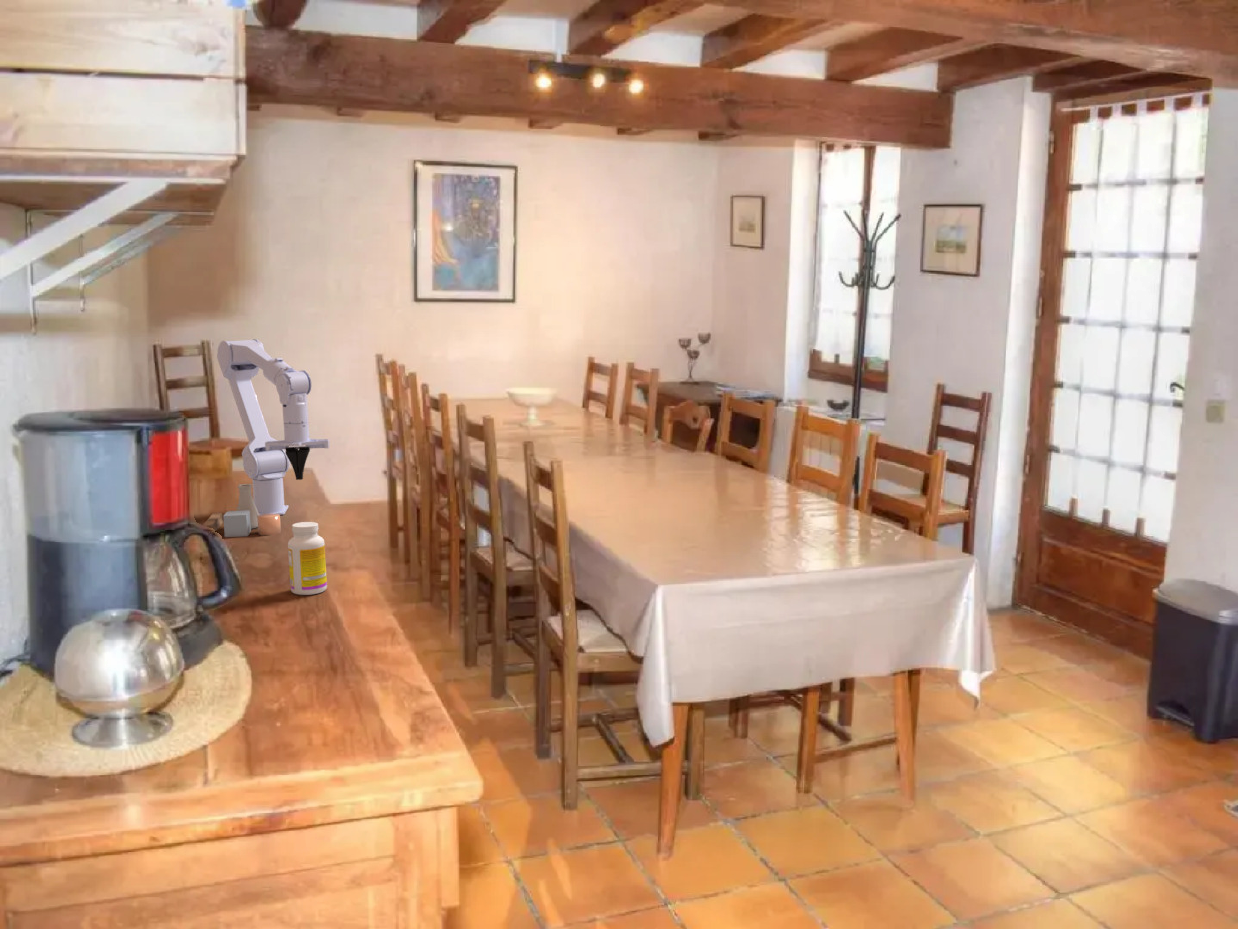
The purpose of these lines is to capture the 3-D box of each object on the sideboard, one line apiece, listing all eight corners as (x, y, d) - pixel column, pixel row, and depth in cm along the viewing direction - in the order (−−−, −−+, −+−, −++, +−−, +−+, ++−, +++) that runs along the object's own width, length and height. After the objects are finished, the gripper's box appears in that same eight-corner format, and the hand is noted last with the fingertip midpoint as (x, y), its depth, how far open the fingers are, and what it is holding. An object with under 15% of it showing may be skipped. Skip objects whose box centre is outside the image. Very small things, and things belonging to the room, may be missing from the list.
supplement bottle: (334, 588, 213) (331, 522, 211) (311, 597, 207) (307, 529, 205) (306, 584, 216) (303, 519, 214) (282, 593, 210) (278, 526, 208)
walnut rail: (214, 523, 269) (213, 513, 269) (222, 523, 270) (222, 512, 269) (202, 536, 256) (201, 526, 255) (211, 536, 256) (211, 525, 256)
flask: (268, 523, 269) (266, 482, 267) (255, 530, 262) (252, 488, 260) (239, 523, 270) (237, 482, 268) (225, 529, 263) (223, 487, 261)
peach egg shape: (260, 530, 262) (259, 514, 261) (282, 530, 262) (281, 513, 262) (256, 535, 257) (255, 518, 256) (279, 534, 257) (278, 517, 257)
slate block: (228, 532, 260) (227, 511, 260) (251, 531, 261) (249, 510, 260) (224, 537, 256) (223, 515, 255) (247, 536, 256) (246, 514, 256)
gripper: (261, 425, 261) (265, 483, 264) (326, 423, 264) (329, 480, 266) (266, 421, 268) (269, 478, 271) (328, 419, 271) (331, 475, 273)
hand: (299, 479), depth 269 cm, fingers closed
